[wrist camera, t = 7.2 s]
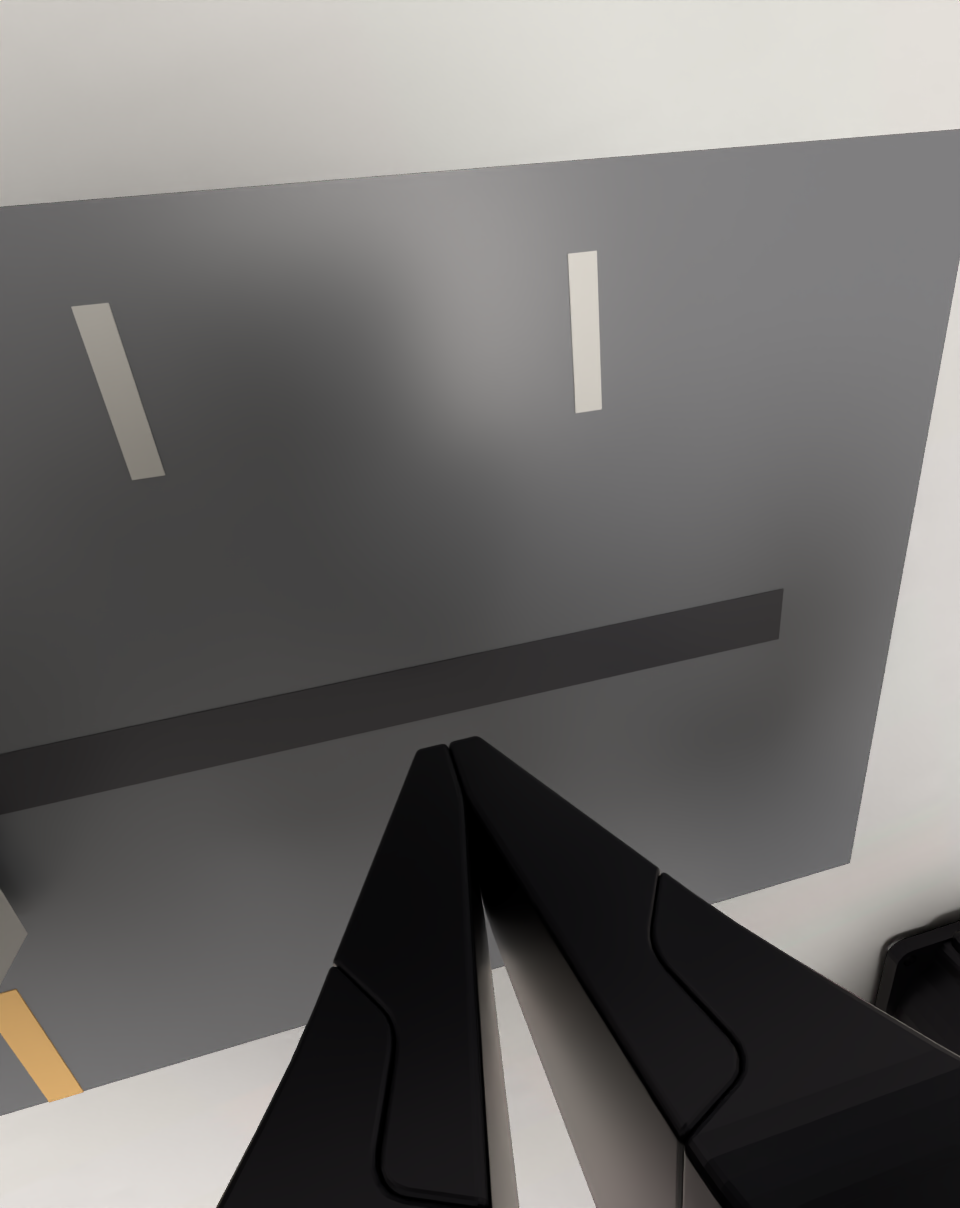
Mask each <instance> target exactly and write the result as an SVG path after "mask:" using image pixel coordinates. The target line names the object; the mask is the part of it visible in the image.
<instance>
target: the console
mask: <svg viewBox="0 0 960 1208" xmlns="http://www.w3.org/2000/svg"><path fill="white" fill-rule="evenodd" d="M959 260H960V129H954V130H942V131H930V132H917V133H905V134H893V135H880V136H868V137H856V138H843V139H831V140H819V141H806V142H794V143H782V144H769V145H757V146H745V147H732V148H720V149H708V150H695V151H683V152H671V153H658V154H646V155H634V156H621V157H609V158H597V159H584V160H572V161H560V162H547V163H535V164H523V165H510V166H498V167H486V168H473V169H461V170H449V171H436V172H424V173H412V174H399V175H387V176H375V177H362V178H350V179H338V180H325V181H313V182H301V183H288V184H276V185H264V186H251V187H239V188H226V189H214V190H202V191H189V192H177V193H165V194H152V195H140V196H128V197H115V198H103V199H91V200H78V201H66V202H54V203H41V204H29V205H17V206H4V207H0V889H1V891H2V892H3V894H4V896H5V897H6V899H7V901H8V902H9V904H10V905H11V907H12V909H13V910H14V912H15V914H16V915H17V917H18V919H19V920H20V922H21V923H22V925H23V927H24V928H25V930H26V932H27V933H28V934H27V936H26V937H25V939H24V941H23V943H22V945H21V947H20V949H19V951H18V952H17V954H16V956H15V958H14V960H13V962H12V964H11V966H10V967H9V969H8V971H7V973H6V975H5V977H4V979H3V981H2V983H1V984H0V1116H2V1115H5V1114H8V1113H12V1112H15V1111H18V1110H22V1109H25V1108H28V1107H32V1106H35V1105H39V1104H42V1103H45V1102H52V1101H55V1100H59V1099H62V1098H66V1097H69V1096H72V1095H76V1094H79V1093H82V1092H84V1091H86V1090H89V1089H92V1088H96V1087H99V1086H102V1085H106V1084H109V1083H112V1082H116V1081H119V1080H122V1079H126V1078H129V1077H133V1076H136V1075H139V1074H143V1073H146V1072H149V1071H153V1070H156V1069H159V1068H163V1067H166V1066H170V1065H173V1064H176V1063H180V1062H183V1061H186V1060H190V1059H193V1058H196V1057H200V1056H203V1055H206V1054H210V1053H213V1052H217V1051H220V1050H223V1049H227V1048H230V1047H233V1046H237V1045H240V1044H243V1043H247V1042H250V1041H254V1040H257V1039H260V1038H264V1037H267V1036H270V1035H274V1034H277V1033H280V1032H284V1031H287V1030H290V1029H294V1028H297V1027H301V1026H304V1025H307V1022H308V1020H309V1018H310V1015H311V1013H312V1011H313V1009H314V1006H315V1004H316V1001H317V999H318V996H319V994H320V991H321V989H322V986H323V984H324V981H325V979H326V976H327V974H328V971H329V969H330V968H331V967H333V959H334V957H335V954H336V952H337V949H338V947H339V944H340V942H341V939H342V937H343V934H344V932H345V929H346V927H347V924H348V922H349V919H350V917H351V914H352V912H353V909H354V907H355V904H356V902H357V899H358V897H359V894H360V892H361V889H362V886H363V884H364V881H365V879H366V876H367V874H368V871H369V869H370V866H371V864H372V861H373V859H374V856H375V854H376V851H377V849H378V846H379V844H380V841H381V839H382V836H383V834H384V831H385V829H386V826H387V824H388V821H389V819H390V816H391V814H392V811H393V809H394V806H395V804H396V801H397V799H398V796H399V793H400V791H401V788H402V786H403V783H404V781H405V778H406V776H407V773H408V771H409V768H410V766H411V763H412V761H413V758H414V756H415V754H416V752H417V751H418V750H419V749H422V748H426V747H430V746H435V745H439V744H446V745H447V746H448V748H449V744H450V743H451V742H452V741H456V740H460V739H464V738H469V737H473V736H478V737H481V738H482V739H483V740H485V741H486V742H488V743H489V744H490V745H492V746H493V747H494V748H496V749H497V750H498V751H500V752H501V753H503V754H504V755H505V756H507V757H508V758H509V759H511V760H512V761H513V762H515V763H516V764H518V765H519V766H520V767H522V768H523V769H524V770H526V771H527V772H529V773H530V774H531V775H533V776H534V777H535V778H537V779H538V780H539V781H541V782H542V783H544V784H545V785H546V786H548V787H549V788H550V789H552V790H553V791H554V792H556V793H557V794H559V795H560V796H561V797H563V798H564V799H565V800H567V801H568V802H570V803H571V804H572V805H574V806H575V807H576V808H578V809H579V810H580V811H582V812H583V813H585V814H586V815H587V816H589V817H590V818H591V819H593V820H594V821H596V822H597V823H598V824H600V825H601V826H602V827H604V828H605V829H606V830H608V831H609V832H611V833H612V834H613V835H615V836H616V837H617V838H619V839H620V840H621V841H623V842H624V843H626V844H627V845H628V846H630V847H631V848H632V849H634V850H635V851H637V852H638V853H639V854H641V855H642V856H643V857H645V858H646V859H647V860H649V861H650V862H652V863H653V864H654V865H656V866H657V867H658V868H659V869H660V871H661V873H663V872H665V873H667V874H668V875H670V876H671V877H672V878H674V879H675V880H677V881H678V882H679V883H681V884H682V885H683V886H685V887H686V888H688V889H689V890H690V891H692V892H693V893H695V894H696V895H697V896H699V897H700V898H702V899H703V900H705V901H706V902H708V903H709V904H714V903H717V902H720V901H724V900H727V899H731V898H734V897H737V896H741V895H744V894H747V893H751V892H754V891H757V890H761V889H764V888H768V887H771V886H774V885H778V884H781V883H784V882H788V881H791V880H794V879H798V878H801V877H804V876H808V875H811V874H815V873H818V872H821V871H825V870H828V869H831V868H835V867H838V866H841V865H845V864H848V863H850V859H851V853H852V848H853V842H854V837H855V831H856V826H857V820H858V815H859V809H860V804H861V798H862V793H863V787H864V782H865V776H866V771H867V765H868V760H869V754H870V749H871V743H872V738H873V732H874V727H875V721H876V716H877V710H878V705H879V699H880V694H881V688H882V683H883V677H884V672H885V666H886V661H887V655H888V650H889V644H890V639H891V633H892V628H893V622H894V617H895V611H896V606H897V600H898V595H899V589H900V584H901V578H902V573H903V567H904V562H905V556H906V551H907V545H908V540H909V534H910V529H911V524H912V518H913V513H914V507H915V502H916V496H917V491H918V485H919V480H920V474H921V469H922V463H923V458H924V452H925V447H926V441H927V436H928V430H929V425H930V419H931V414H932V408H933V403H934V397H935V392H936V386H937V381H938V375H939V370H940V364H941V359H942V353H943V348H944V342H945V337H946V331H947V326H948V320H949V315H950V309H951V304H952V298H953V293H954V287H955V282H956V276H957V271H958V265H959ZM482 903H483V901H482ZM483 909H484V905H483ZM484 915H485V922H486V929H487V936H488V945H489V953H490V962H491V970H492V969H495V968H499V967H502V966H505V964H504V962H503V959H502V957H501V954H500V951H499V949H498V946H497V943H496V941H495V938H494V935H493V933H492V930H491V927H490V924H489V921H488V918H487V915H486V912H485V909H484Z"/></svg>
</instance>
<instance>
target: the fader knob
mask: <svg viewBox="0 0 960 1208" xmlns="http://www.w3.org/2000/svg"><path fill="white" fill-rule="evenodd" d="M27 934H28V933H27V932H26V930H25V928H24V927H23V925H22V923H21V922H20V920H19V919H18V917H17V915H16V914H15V912H14V910H13V909H12V907H11V905H10V904H9V902H8V901H7V899H6V897H5V896H4V894H3V892H2V891H1V889H0V984H1V983H2V981H3V979H4V977H5V975H6V973H7V971H8V969H9V967H10V966H11V964H12V962H13V960H14V958H15V956H16V954H17V952H18V951H19V949H20V947H21V945H22V943H23V941H24V939H25V937H26V936H27Z"/></svg>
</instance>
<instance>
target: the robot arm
mask: <svg viewBox="0 0 960 1208" xmlns="http://www.w3.org/2000/svg"><path fill="white" fill-rule="evenodd" d="M482 901H483V903H482ZM483 905H484V909H485V912H486V915H487V918H488V921H489V924H490V927H491V930H492V933H493V935H494V938H495V941H496V943H497V946H498V949H499V951H500V954H501V957H502V959H503V962H504V964H505V967H506V970H507V972H508V975H509V978H510V980H511V983H512V986H513V988H514V991H515V994H516V996H517V999H518V1002H519V1004H520V1007H521V1010H522V1012H523V1015H524V1017H525V1020H526V1023H527V1025H528V1028H529V1031H530V1033H531V1036H532V1039H533V1041H534V1044H535V1047H536V1049H537V1052H538V1055H539V1057H540V1060H541V1062H542V1065H543V1068H544V1070H545V1073H546V1076H547V1078H548V1081H549V1084H550V1086H551V1089H552V1092H553V1094H554V1097H555V1100H556V1102H557V1105H558V1108H559V1110H560V1113H561V1115H562V1118H563V1121H564V1123H565V1126H566V1129H567V1131H568V1134H569V1137H570V1139H571V1142H572V1145H573V1147H574V1150H575V1153H576V1155H577V1158H578V1160H579V1163H580V1166H581V1168H582V1171H583V1174H584V1176H585V1179H586V1182H587V1184H588V1187H589V1190H590V1192H591V1195H592V1198H593V1200H594V1203H595V1205H596V1208H960V921H959V922H956V923H953V924H950V925H947V926H943V927H940V928H937V929H934V930H931V931H928V932H925V933H922V934H919V935H916V936H913V937H910V938H907V939H904V940H901V941H899V942H897V943H896V944H894V945H893V946H892V947H891V948H890V949H889V951H888V953H887V957H886V961H885V965H884V969H883V974H882V978H881V982H880V986H879V991H878V995H877V999H876V1003H875V1006H874V1005H872V1004H870V1003H868V1002H867V1001H865V1000H863V999H862V998H860V997H858V996H857V995H855V994H853V993H852V992H850V991H848V990H847V989H845V988H843V987H842V986H840V985H838V984H836V983H835V982H833V981H831V980H830V979H828V978H826V977H825V976H823V975H821V974H820V973H818V972H816V971H815V970H813V969H811V968H809V967H808V966H806V965H804V964H803V963H801V962H799V961H798V960H796V959H794V958H793V957H791V956H789V955H788V954H786V953H785V952H783V951H781V950H780V949H778V948H777V947H775V946H773V945H772V944H770V943H769V942H767V941H765V940H764V939H762V938H760V937H759V936H757V935H756V934H754V933H752V932H751V931H749V930H748V929H746V928H744V927H743V926H741V925H740V924H738V923H736V922H735V921H734V920H732V919H731V918H729V917H728V916H726V915H725V914H723V913H722V912H721V911H719V910H718V909H716V908H715V907H713V906H712V905H710V904H709V903H708V902H706V901H705V900H703V899H702V898H700V897H699V896H697V895H696V894H695V893H693V892H692V891H690V890H689V889H688V888H686V887H685V886H683V885H682V884H681V883H679V882H678V881H677V880H675V879H674V878H672V877H671V876H670V875H668V874H667V873H665V872H663V873H661V871H660V869H659V868H658V867H657V866H656V865H654V864H653V863H652V862H650V861H649V860H647V859H646V858H645V857H643V856H642V855H641V854H639V853H638V852H637V851H635V850H634V849H632V848H631V847H630V846H628V845H627V844H626V843H624V842H623V841H621V840H620V839H619V838H617V837H616V836H615V835H613V834H612V833H611V832H609V831H608V830H606V829H605V828H604V827H602V826H601V825H600V824H598V823H597V822H596V821H594V820H593V819H591V818H590V817H589V816H587V815H586V814H585V813H583V812H582V811H580V810H579V809H578V808H576V807H575V806H574V805H572V804H571V803H570V802H568V801H567V800H565V799H564V798H563V797H561V796H560V795H559V794H557V793H556V792H554V791H553V790H552V789H550V788H549V787H548V786H546V785H545V784H544V783H542V782H541V781H539V780H538V779H537V778H535V777H534V776H533V775H531V774H530V773H529V772H527V771H526V770H524V769H523V768H522V767H520V766H519V765H518V764H516V763H515V762H513V761H512V760H511V759H509V758H508V757H507V756H505V755H504V754H503V753H501V752H500V751H498V750H497V749H496V748H494V747H493V746H492V745H490V744H489V743H488V742H486V741H485V740H483V739H482V738H481V737H478V736H473V737H469V738H464V739H460V740H456V741H452V742H451V743H450V744H449V748H448V746H447V745H446V744H439V745H435V746H430V747H426V748H422V749H419V750H418V751H417V752H416V754H415V756H414V758H413V761H412V763H411V766H410V768H409V771H408V773H407V776H406V778H405V781H404V783H403V786H402V788H401V791H400V793H399V796H398V799H397V801H396V804H395V806H394V809H393V811H392V814H391V816H390V819H389V821H388V824H387V826H386V829H385V831H384V834H383V836H382V839H381V841H380V844H379V846H378V849H377V851H376V854H375V856H374V859H373V861H372V864H371V866H370V869H369V871H368V874H367V876H366V879H365V881H364V884H363V886H362V889H361V892H360V894H359V897H358V899H357V902H356V904H355V907H354V909H353V912H352V914H351V917H350V919H349V922H348V924H347V927H346V929H345V932H344V934H343V937H342V939H341V942H340V944H339V947H338V949H337V952H336V954H335V957H334V959H333V967H331V968H330V969H329V971H328V974H327V976H326V979H325V981H324V984H323V986H322V989H321V991H320V994H319V996H318V999H317V1001H316V1004H315V1006H314V1009H313V1011H312V1013H311V1015H310V1018H309V1020H308V1022H307V1025H306V1027H305V1029H304V1032H303V1034H302V1036H301V1039H300V1041H299V1043H298V1046H297V1048H296V1050H295V1052H294V1055H293V1057H292V1059H291V1062H290V1064H289V1066H288V1068H287V1070H286V1072H285V1074H284V1076H283V1078H282V1080H281V1082H280V1084H279V1086H278V1088H277V1090H276V1092H275V1094H274V1096H273V1098H272V1100H271V1102H270V1104H269V1106H268V1108H267V1110H266V1112H265V1114H264V1116H263V1118H262V1120H261V1122H260V1124H259V1126H258V1128H257V1130H256V1132H255V1134H254V1136H253V1138H252V1140H251V1142H250V1144H249V1146H248V1147H247V1149H246V1151H245V1153H244V1155H243V1157H242V1159H241V1161H240V1163H239V1165H238V1167H237V1169H236V1170H235V1172H234V1174H233V1176H232V1178H231V1180H230V1182H229V1184H228V1186H227V1188H226V1190H225V1192H224V1193H223V1195H222V1197H221V1199H220V1201H219V1203H218V1205H217V1207H216V1208H519V1201H518V1192H517V1184H516V1175H515V1166H514V1158H513V1149H512V1141H511V1132H510V1124H509V1115H508V1107H507V1098H506V1090H505V1081H504V1073H503V1064H502V1056H501V1047H500V1039H499V1030H498V1022H497V1013H496V1005H495V996H494V987H493V979H492V970H491V962H490V953H489V945H488V936H487V929H486V922H485V915H484V909H483Z"/></svg>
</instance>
